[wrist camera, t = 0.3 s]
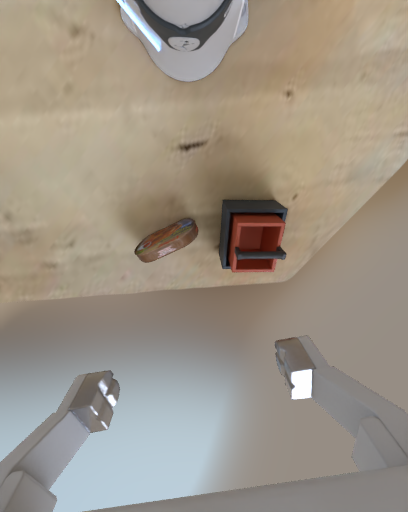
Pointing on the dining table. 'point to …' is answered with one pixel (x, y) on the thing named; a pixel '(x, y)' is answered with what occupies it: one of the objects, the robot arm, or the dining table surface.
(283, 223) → the terracotta bin
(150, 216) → the dining table surface
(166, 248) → the tin
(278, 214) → the slate bin
